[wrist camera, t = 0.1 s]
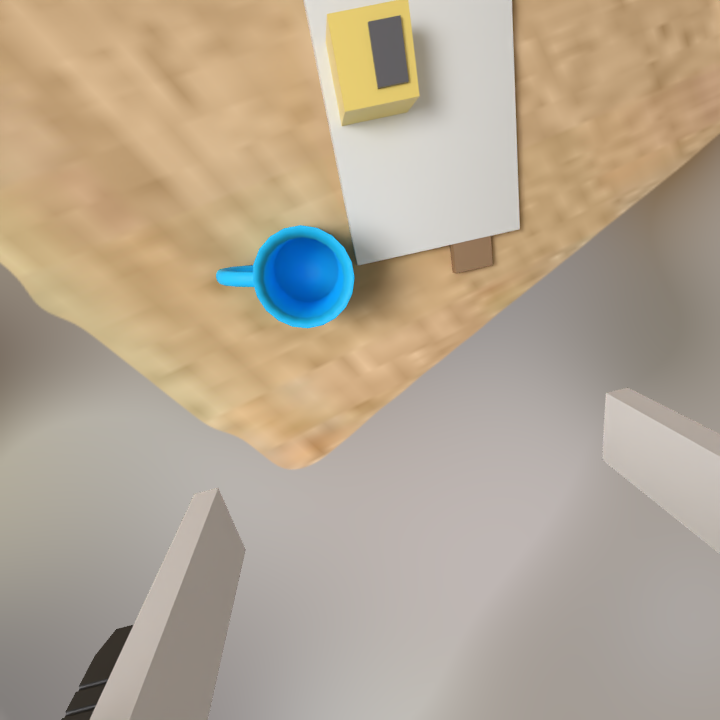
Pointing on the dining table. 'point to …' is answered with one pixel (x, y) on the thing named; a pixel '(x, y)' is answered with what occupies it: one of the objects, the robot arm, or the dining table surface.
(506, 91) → the drywall panel
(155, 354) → the dining table surface
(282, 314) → the mug
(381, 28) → the block
